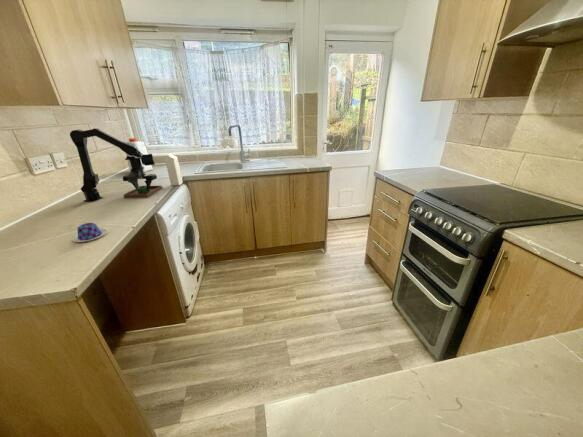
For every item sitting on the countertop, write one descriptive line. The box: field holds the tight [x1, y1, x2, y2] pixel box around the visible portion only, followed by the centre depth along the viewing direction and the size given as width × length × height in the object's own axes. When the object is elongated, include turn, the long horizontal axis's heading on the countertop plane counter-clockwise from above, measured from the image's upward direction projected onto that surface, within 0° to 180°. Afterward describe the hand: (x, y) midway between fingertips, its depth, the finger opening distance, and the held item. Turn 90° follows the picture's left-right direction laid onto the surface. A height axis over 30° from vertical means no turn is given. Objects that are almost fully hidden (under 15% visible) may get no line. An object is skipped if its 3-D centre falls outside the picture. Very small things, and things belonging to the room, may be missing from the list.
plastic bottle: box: [125, 137, 154, 173], centre depth 213 cm, size 15×15×28 cm
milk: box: [164, 152, 184, 187], centre depth 170 cm, size 6×6×22 cm
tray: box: [122, 185, 163, 199], centre depth 157 cm, size 15×19×2 cm
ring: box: [137, 185, 150, 194], centre depth 156 cm, size 6×6×4 cm
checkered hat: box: [71, 222, 108, 243], centre depth 101 cm, size 12×12×5 cm
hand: (143, 190), depth 157 cm, fingers closed on ring, 6 cm apart
